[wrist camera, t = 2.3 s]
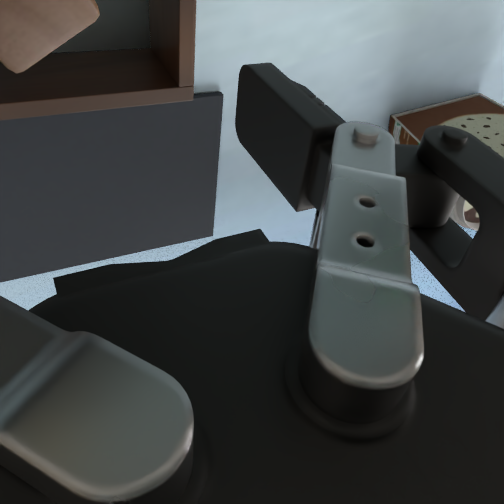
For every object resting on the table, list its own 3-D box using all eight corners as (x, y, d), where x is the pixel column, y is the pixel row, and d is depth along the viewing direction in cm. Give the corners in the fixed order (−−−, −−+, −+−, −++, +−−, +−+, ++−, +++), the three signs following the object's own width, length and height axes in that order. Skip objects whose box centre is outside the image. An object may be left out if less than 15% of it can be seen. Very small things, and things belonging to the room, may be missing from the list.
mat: (-219, 134, 22) (-221, 139, 22) (220, 91, 30) (223, 95, 30) (-112, 301, 30) (-113, 307, 30) (210, 232, 38) (213, 235, 38)
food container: (361, 180, 42) (435, 255, 36) (375, 119, 38) (462, 192, 32) (468, 149, 46) (552, 212, 40) (492, 89, 41) (591, 149, 35)
